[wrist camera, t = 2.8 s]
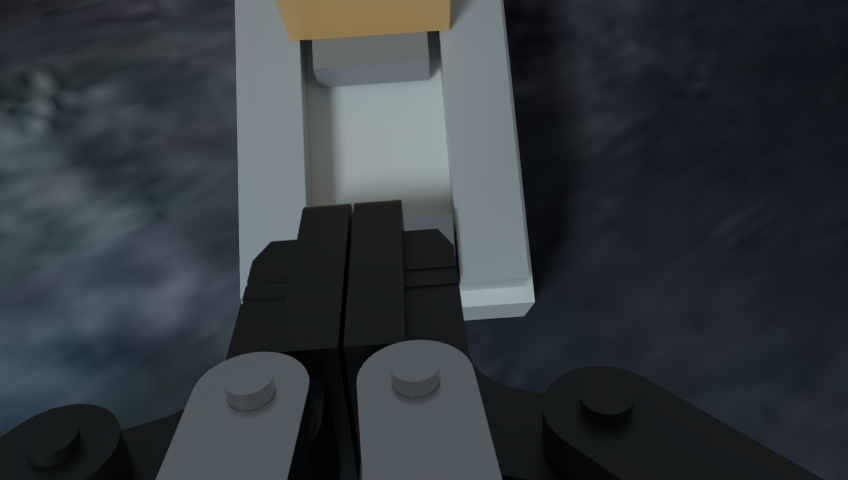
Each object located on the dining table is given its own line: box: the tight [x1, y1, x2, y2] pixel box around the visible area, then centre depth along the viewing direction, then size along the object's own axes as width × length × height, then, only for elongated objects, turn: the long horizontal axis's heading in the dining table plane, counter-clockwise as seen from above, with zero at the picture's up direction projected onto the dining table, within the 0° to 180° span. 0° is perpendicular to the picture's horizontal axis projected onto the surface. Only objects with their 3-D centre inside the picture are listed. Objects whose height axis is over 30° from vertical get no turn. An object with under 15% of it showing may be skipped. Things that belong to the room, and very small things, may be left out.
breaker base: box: [235, 0, 535, 320], centre depth 28 cm, size 20×9×5 cm, turn 4°
